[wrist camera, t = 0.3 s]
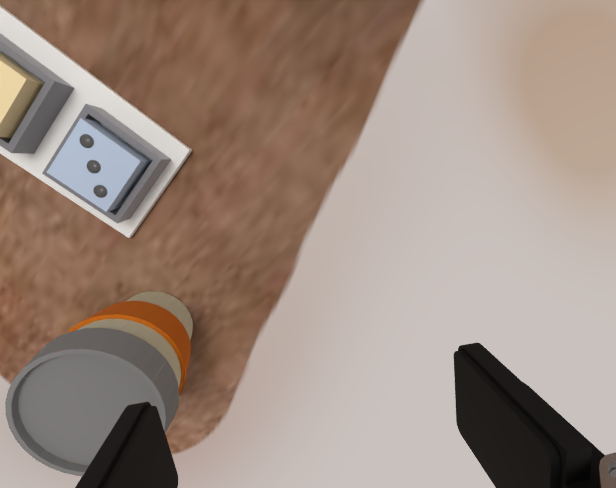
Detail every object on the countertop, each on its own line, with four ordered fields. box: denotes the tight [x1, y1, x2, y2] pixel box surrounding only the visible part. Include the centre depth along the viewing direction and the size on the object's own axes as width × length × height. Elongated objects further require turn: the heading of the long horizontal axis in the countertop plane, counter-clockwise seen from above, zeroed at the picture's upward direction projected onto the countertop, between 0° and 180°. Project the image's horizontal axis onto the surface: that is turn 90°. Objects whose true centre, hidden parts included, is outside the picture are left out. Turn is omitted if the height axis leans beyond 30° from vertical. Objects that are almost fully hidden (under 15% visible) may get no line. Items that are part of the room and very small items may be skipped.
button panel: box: [0, 5, 192, 238], centre depth 32 cm, size 12×32×4 cm, turn 52°
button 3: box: [47, 118, 150, 212], centre depth 32 cm, size 6×6×3 cm
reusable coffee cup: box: [6, 291, 193, 476], centre depth 34 cm, size 13×13×15 cm
